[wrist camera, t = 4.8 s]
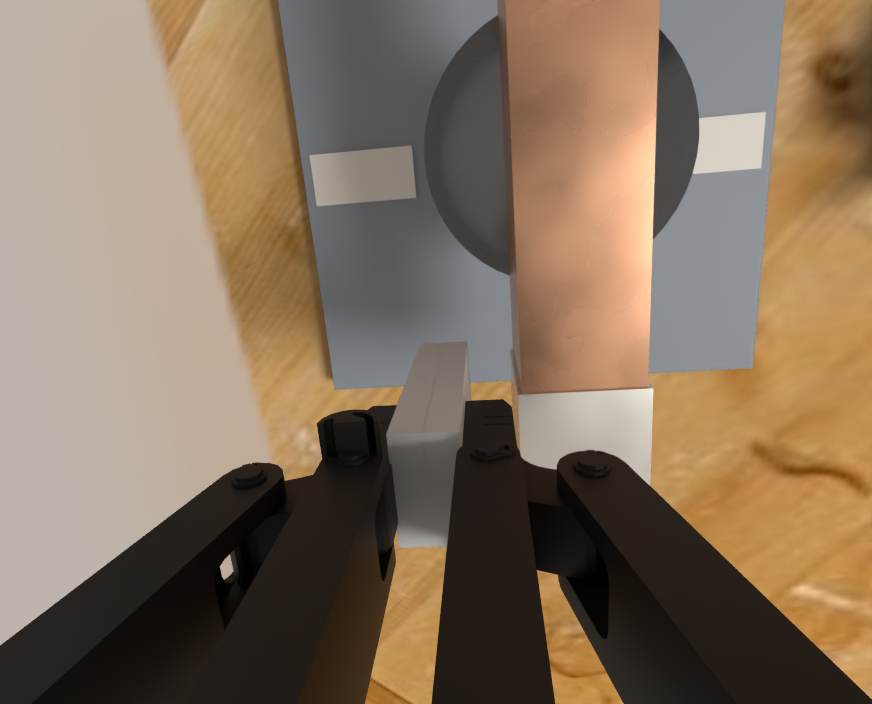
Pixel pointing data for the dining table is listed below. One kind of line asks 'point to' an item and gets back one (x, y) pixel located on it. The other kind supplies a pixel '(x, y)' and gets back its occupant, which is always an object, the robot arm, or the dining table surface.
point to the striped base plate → (438, 248)
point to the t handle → (568, 204)
